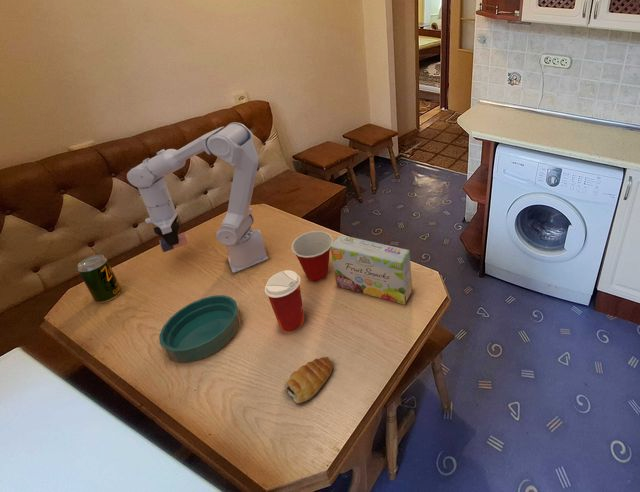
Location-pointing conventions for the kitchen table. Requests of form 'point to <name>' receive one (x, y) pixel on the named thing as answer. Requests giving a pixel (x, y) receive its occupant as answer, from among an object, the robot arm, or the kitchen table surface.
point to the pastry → (309, 379)
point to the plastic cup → (313, 253)
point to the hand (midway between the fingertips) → (173, 241)
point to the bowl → (200, 328)
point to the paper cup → (286, 299)
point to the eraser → (166, 247)
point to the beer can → (99, 278)
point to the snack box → (372, 268)
